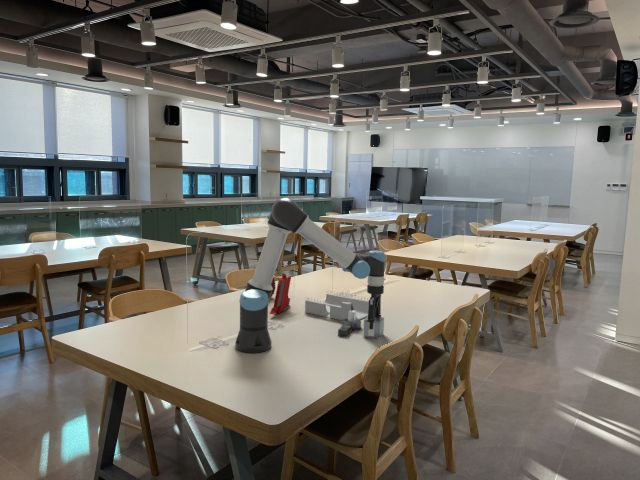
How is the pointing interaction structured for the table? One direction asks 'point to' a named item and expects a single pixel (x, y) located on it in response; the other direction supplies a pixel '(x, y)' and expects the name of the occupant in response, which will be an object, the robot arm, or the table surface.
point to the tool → (282, 295)
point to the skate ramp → (338, 307)
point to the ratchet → (349, 324)
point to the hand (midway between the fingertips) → (373, 333)
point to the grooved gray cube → (378, 327)
